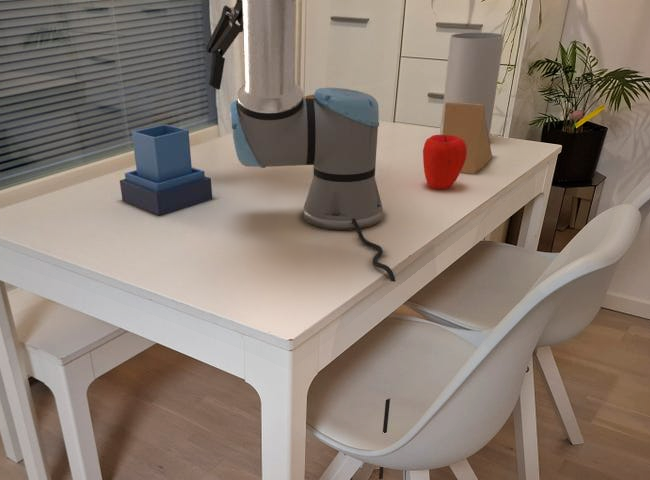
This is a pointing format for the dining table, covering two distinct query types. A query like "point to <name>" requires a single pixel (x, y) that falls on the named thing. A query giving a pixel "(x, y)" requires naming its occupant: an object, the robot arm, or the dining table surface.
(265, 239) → the dining table surface
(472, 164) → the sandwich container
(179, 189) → the bin stack
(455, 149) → the apple
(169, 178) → the lone bin
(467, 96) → the cylinder vase
